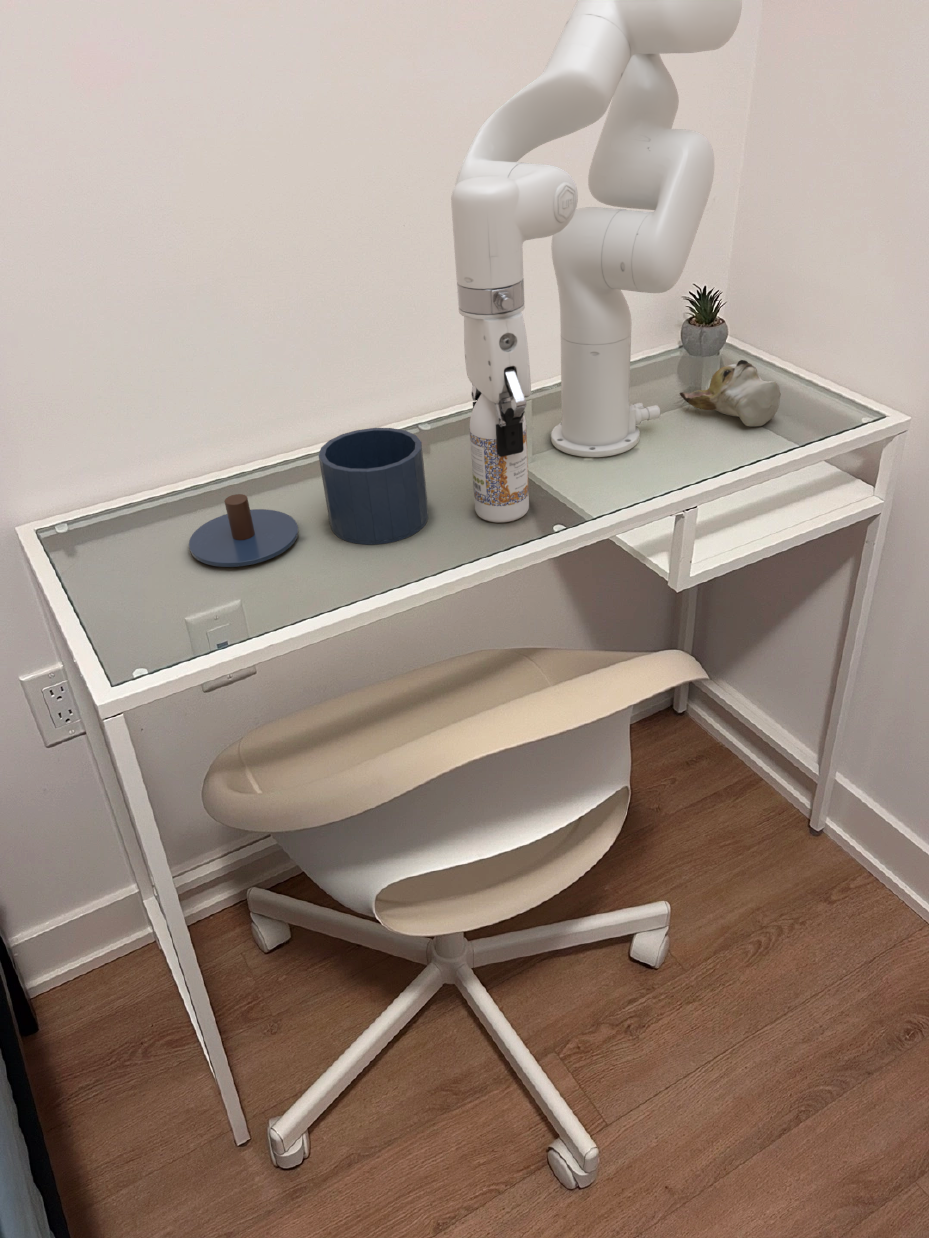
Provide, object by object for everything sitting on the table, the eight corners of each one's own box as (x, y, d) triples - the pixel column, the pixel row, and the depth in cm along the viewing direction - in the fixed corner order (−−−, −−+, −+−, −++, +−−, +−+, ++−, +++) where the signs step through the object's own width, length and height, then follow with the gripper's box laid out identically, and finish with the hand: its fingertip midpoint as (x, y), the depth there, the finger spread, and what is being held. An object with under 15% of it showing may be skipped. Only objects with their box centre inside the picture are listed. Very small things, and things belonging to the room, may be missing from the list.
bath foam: (503, 530, 125) (494, 375, 114) (464, 513, 129) (452, 362, 118) (540, 509, 129) (536, 357, 118) (501, 493, 133) (493, 346, 122)
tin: (411, 489, 136) (403, 420, 130) (441, 531, 126) (435, 458, 120) (320, 509, 133) (309, 439, 127) (344, 554, 123) (332, 480, 117)
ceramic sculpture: (747, 379, 137) (676, 356, 148) (743, 440, 141) (675, 412, 153) (805, 362, 141) (732, 341, 152) (800, 422, 145) (730, 396, 157)
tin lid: (287, 508, 134) (279, 466, 130) (309, 555, 123) (301, 510, 119) (184, 531, 130) (173, 488, 127) (198, 581, 120) (186, 536, 116)
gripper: (552, 311, 108) (555, 463, 118) (493, 273, 121) (500, 411, 131) (487, 323, 106) (495, 476, 116) (435, 283, 120) (446, 422, 130)
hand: (498, 440), depth 124 cm, fingers closed on bath foam, 7 cm apart
